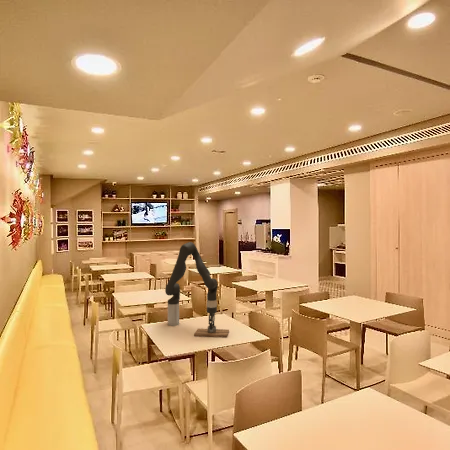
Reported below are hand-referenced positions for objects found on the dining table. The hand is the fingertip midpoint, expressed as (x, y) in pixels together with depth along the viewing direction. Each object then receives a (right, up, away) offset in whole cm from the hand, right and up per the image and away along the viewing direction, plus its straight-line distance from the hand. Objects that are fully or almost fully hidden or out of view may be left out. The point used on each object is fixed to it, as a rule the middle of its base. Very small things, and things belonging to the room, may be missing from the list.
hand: (211, 327), depth 266 cm
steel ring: (0, -3, 0) cm, 3 cm away
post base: (0, -5, 0) cm, 5 cm away
